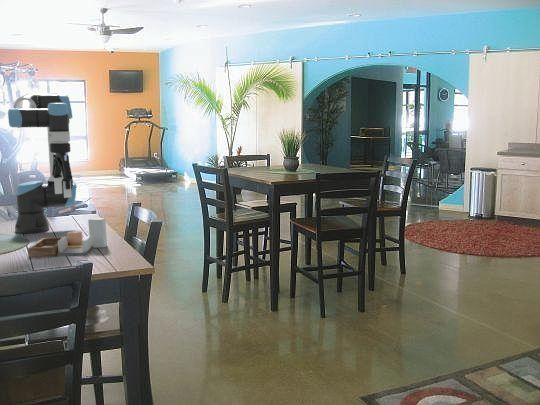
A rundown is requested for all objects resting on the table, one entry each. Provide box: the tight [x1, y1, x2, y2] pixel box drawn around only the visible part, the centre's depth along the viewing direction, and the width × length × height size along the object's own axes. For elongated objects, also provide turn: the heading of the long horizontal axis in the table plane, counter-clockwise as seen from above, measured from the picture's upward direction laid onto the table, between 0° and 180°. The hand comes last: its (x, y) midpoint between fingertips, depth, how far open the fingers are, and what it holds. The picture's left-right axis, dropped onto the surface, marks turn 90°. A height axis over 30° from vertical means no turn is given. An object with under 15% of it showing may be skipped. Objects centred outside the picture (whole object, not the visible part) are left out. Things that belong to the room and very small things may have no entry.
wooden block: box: [66, 230, 83, 246], centre depth 234 cm, size 6×6×6 cm
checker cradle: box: [56, 235, 93, 257], centre depth 224 cm, size 12×11×6 cm
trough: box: [27, 237, 62, 258], centre depth 225 cm, size 18×10×4 cm, turn 5°
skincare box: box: [87, 217, 108, 249], centre depth 232 cm, size 6×4×12 cm
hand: (63, 195), depth 223 cm, fingers open, 13 cm apart
